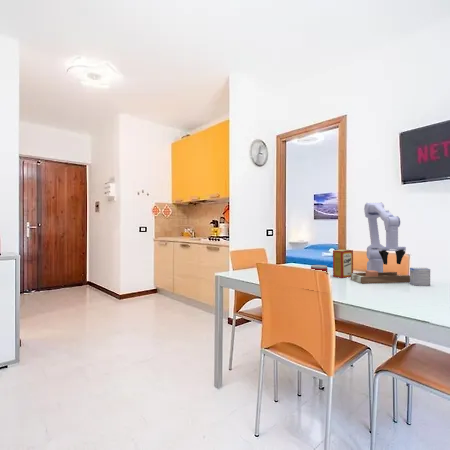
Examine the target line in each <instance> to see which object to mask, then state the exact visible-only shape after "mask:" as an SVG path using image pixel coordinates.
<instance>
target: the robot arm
mask: <svg viewBox="0 0 450 450" xmlns="http://www.w3.org/2000/svg"><path fill="white" fill-rule="evenodd" d="M363 210H364V211H363V212H364V217H365V218H367V222H368V230H369V237H370V244H369V245H368V246H367V248H366V258H367V259H368V261H367V263H366V270H374V271H378V272H384V265H388V258H389V257H388V256H389V253H390V251H391V252H393V251H394V252H395V256H396V264H397V265H401V263H402V260H403V257H404V256H405V255H406V250H407V247H406V246H399V227H400V226H401V219H400V217H399V216H398V215H397V216H396V215H393V213H392V212H390V210H389V209H388V210H387V209H385V205H384V203H383V202H366V203H365V204H364V209H363ZM378 218H380V219H381V220H382V221H383V225H384V230H385V246H384V245H382V244H381V241H380V240H381V239H380V235H379V225H378Z"/></svg>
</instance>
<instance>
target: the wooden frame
mask: <svg viewBox="0 0 450 450" xmlns="http://www.w3.org/2000/svg"><path fill="white" fill-rule="evenodd" d="M350 280H351V281H353V280H354V282H356V283H359V284H364V285H365V284H369V285H370V284H393V283H394V284H395V283H397V284H399V283H410V274H409V275H408V274H406V275H399V274H398V271H387V272H386V271H385V272H384V271H383V272H378V276H369V277H366V272H356V273H355V272H353V273H351V277H350Z"/></svg>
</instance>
